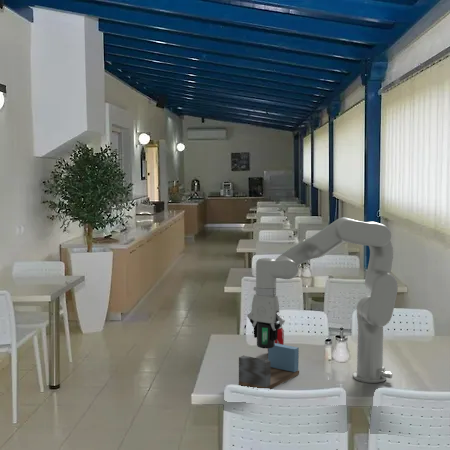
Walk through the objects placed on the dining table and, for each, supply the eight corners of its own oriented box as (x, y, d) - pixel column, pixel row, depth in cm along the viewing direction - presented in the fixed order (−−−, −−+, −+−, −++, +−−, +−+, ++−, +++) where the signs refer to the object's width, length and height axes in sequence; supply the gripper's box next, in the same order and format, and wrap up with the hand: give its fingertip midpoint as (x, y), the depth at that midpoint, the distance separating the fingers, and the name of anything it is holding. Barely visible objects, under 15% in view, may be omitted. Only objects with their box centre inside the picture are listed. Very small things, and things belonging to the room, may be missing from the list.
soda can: (282, 356, 284) (282, 329, 283) (266, 355, 285) (266, 328, 284) (284, 352, 291) (284, 325, 290) (268, 351, 292) (268, 324, 291)
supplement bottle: (267, 349, 246) (267, 317, 245) (252, 346, 251) (253, 314, 250) (278, 346, 251) (278, 314, 250) (264, 342, 256) (264, 311, 255)
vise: (299, 374, 261) (299, 347, 260) (266, 391, 241) (266, 363, 240) (273, 368, 268) (273, 342, 267) (238, 384, 248) (238, 357, 247)
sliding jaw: (298, 370, 260) (298, 347, 259) (294, 372, 258) (294, 349, 257) (272, 364, 267) (272, 342, 266) (268, 366, 265) (268, 344, 264)
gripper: (241, 290, 251) (240, 336, 253) (280, 296, 241) (280, 344, 242) (252, 287, 257) (251, 332, 259) (291, 292, 247) (290, 340, 248)
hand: (265, 338), depth 250 cm, fingers closed on supplement bottle, 6 cm apart
